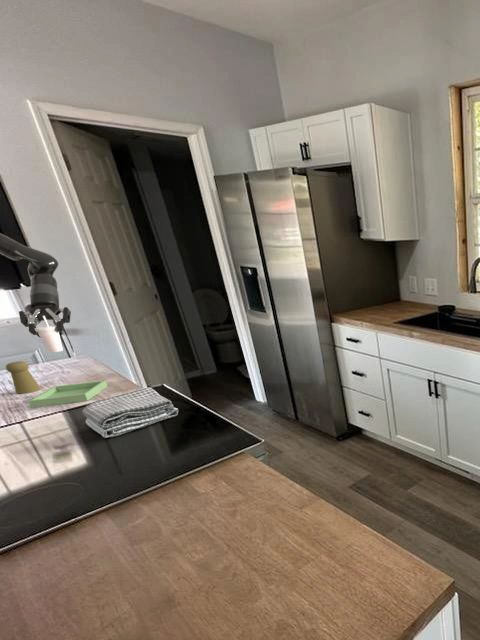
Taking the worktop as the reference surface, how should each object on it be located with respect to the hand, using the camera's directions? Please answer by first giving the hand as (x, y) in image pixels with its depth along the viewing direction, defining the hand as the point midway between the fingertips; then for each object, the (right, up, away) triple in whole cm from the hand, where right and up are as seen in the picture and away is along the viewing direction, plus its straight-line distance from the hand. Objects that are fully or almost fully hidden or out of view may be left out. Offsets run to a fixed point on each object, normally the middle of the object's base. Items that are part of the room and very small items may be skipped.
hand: (46, 332), depth 159 cm
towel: (+67, -32, -35) cm, 82 cm away
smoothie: (-1, -7, +4) cm, 8 cm away
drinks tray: (+25, -24, -15) cm, 38 cm away
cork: (+3, -23, -9) cm, 25 cm away
